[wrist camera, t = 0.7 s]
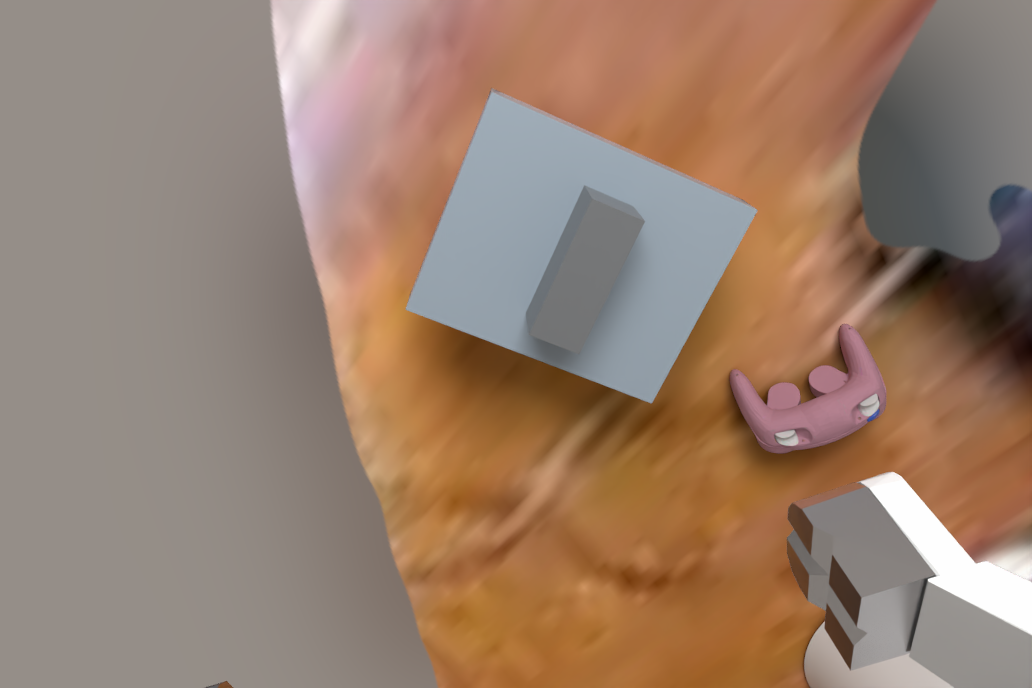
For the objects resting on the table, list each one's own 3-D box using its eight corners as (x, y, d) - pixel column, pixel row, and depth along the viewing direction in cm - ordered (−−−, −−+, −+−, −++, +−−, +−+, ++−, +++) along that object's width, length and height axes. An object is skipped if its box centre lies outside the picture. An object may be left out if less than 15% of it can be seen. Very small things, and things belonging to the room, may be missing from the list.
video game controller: (730, 400, 59) (770, 475, 55) (721, 368, 56) (762, 445, 51) (854, 350, 58) (905, 423, 53) (852, 313, 55) (906, 388, 50)
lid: (743, 199, 45) (779, 225, 39) (643, 384, 50) (663, 431, 44) (491, 88, 42) (491, 97, 37) (410, 294, 47) (398, 332, 41)
